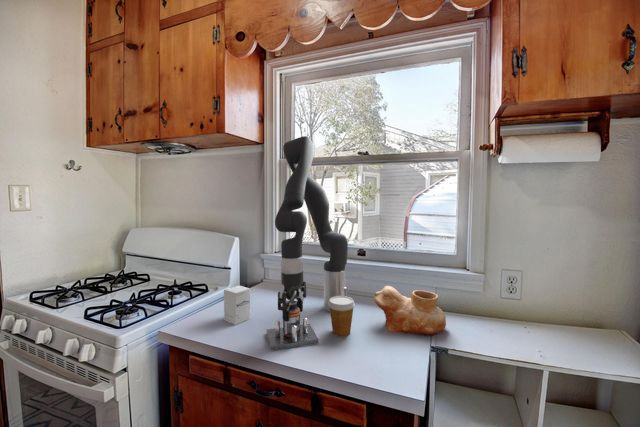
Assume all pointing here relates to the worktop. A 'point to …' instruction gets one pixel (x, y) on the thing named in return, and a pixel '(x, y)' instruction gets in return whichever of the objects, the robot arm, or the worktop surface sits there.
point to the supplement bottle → (292, 320)
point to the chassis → (283, 342)
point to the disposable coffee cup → (341, 314)
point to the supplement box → (236, 304)
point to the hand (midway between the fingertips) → (293, 316)
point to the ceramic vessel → (411, 312)
